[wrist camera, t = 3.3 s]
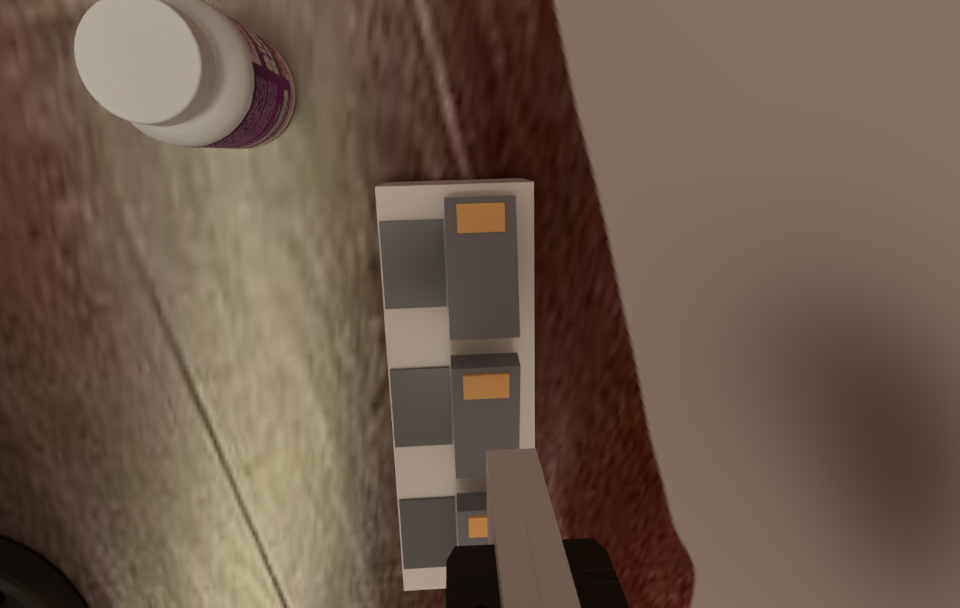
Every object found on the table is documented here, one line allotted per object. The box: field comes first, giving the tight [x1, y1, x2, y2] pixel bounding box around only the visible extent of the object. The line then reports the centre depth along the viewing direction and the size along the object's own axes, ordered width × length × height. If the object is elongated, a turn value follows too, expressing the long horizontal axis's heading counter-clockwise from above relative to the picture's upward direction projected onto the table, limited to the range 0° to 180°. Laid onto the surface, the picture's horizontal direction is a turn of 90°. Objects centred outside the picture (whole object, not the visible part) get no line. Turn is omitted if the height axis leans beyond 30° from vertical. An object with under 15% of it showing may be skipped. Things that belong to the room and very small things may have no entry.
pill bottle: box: [74, 0, 295, 149], centre depth 23 cm, size 5×5×10 cm
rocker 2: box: [451, 352, 521, 479], centre depth 27 cm, size 3×6×1 cm, turn 2°
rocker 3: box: [457, 492, 489, 546], centre depth 29 cm, size 3×6×1 cm, turn 2°
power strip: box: [375, 178, 535, 591], centre depth 30 cm, size 7×21×5 cm, turn 2°
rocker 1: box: [444, 195, 520, 340], centre depth 25 cm, size 3×6×1 cm, turn 2°
